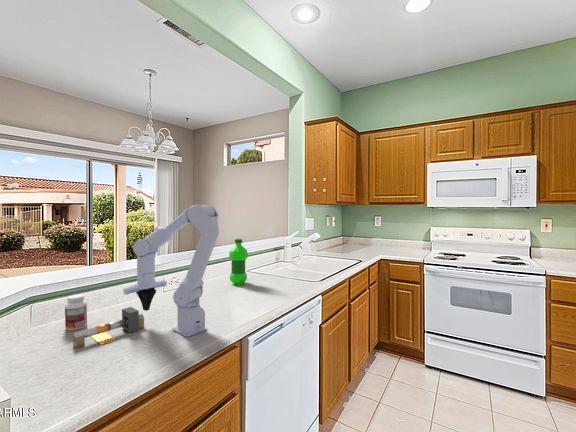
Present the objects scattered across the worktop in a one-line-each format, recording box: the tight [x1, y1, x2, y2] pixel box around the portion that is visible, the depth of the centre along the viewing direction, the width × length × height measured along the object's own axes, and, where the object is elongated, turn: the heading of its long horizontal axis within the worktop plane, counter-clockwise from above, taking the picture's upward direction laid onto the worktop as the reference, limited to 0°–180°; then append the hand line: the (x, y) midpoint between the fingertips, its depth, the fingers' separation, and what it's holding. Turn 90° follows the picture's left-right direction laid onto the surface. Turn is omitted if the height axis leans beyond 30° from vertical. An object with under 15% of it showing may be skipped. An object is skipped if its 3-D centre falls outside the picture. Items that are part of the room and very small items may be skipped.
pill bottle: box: [64, 294, 88, 331], centre depth 101 cm, size 6×6×11 cm
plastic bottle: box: [228, 238, 249, 286], centre depth 161 cm, size 10×10×25 cm
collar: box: [121, 306, 140, 333], centre depth 99 cm, size 3×6×7 cm, turn 52°
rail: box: [72, 313, 145, 350], centre depth 95 cm, size 20×9×4 cm, turn 142°
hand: (146, 309), depth 104 cm, fingers closed
